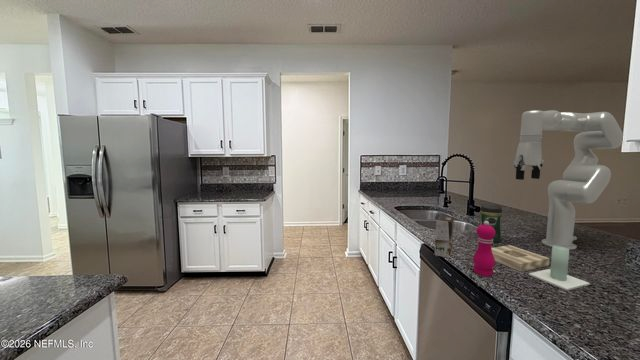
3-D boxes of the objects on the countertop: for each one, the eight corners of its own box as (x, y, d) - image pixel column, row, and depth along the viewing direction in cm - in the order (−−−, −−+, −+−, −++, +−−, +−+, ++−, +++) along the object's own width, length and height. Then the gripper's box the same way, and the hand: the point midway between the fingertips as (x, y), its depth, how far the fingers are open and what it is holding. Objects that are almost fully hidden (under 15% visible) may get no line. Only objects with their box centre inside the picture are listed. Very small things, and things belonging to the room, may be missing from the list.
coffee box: (450, 258, 115) (452, 221, 113) (434, 255, 118) (435, 219, 117) (452, 251, 123) (454, 217, 121) (437, 248, 126) (438, 215, 124)
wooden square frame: (509, 251, 122) (509, 245, 122) (548, 265, 107) (549, 258, 107) (482, 255, 117) (483, 249, 117) (520, 271, 102) (520, 263, 102)
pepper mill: (468, 268, 105) (470, 218, 103) (485, 267, 105) (488, 218, 103) (480, 277, 98) (483, 223, 96) (499, 276, 98) (502, 223, 96)
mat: (550, 270, 103) (550, 268, 103) (589, 284, 92) (590, 283, 92) (528, 274, 99) (528, 273, 99) (566, 290, 88) (567, 289, 88)
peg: (555, 274, 98) (557, 245, 97) (569, 279, 94) (572, 249, 93) (546, 276, 97) (549, 246, 96) (561, 281, 93) (563, 251, 92)
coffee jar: (500, 239, 139) (502, 204, 137) (501, 243, 132) (503, 206, 130) (478, 236, 144) (480, 202, 142) (478, 240, 138) (480, 204, 135)
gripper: (535, 140, 123) (532, 177, 125) (507, 140, 117) (505, 178, 119) (553, 139, 116) (550, 179, 118) (525, 139, 110) (522, 180, 112)
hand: (527, 179), depth 118 cm, fingers open, 9 cm apart
